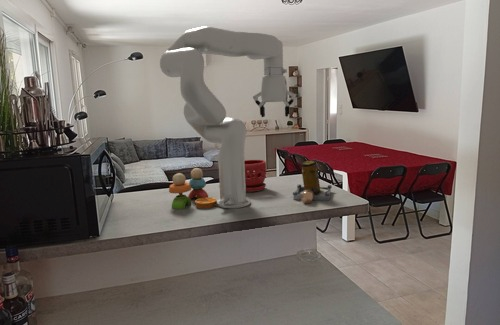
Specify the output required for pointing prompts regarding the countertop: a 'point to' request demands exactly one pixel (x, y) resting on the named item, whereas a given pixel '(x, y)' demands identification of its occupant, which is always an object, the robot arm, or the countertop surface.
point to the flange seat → (311, 194)
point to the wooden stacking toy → (197, 191)
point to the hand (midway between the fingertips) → (274, 116)
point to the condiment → (311, 178)
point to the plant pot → (255, 175)
